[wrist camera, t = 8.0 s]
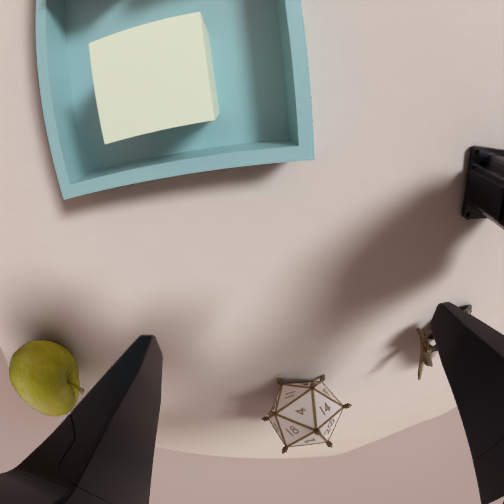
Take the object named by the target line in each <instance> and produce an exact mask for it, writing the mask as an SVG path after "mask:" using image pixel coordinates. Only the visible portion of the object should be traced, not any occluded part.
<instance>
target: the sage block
mask: <svg viewBox="0 0 504 504" xmlns="http://www.w3.org/2000/svg"><path fill="white" fill-rule="evenodd" d="M89 51H90V61H91V69H92V76H93V83H94V90H95V96H96V102H97V108H98V113H99V119H100V124H101V129H102V134H103V138H104V143H105V144H108V143H112V142H115V141H119V140H123V139H126V138H130V137H134V136H138V135H142V134H146V133H151V132H155V131H160V130H164V129H169V128H174V127H179V126H184V125H189V124H195V123H201V122H207V121H213V120H215V119H216V118H217V116H218V115H219V106H218V99H217V92H216V84H215V77H214V69H213V62H212V54H211V47H210V39H209V33H208V31H207V28H206V26H205V23H204V20H203V18H202V15H201V13H200V12H195V13H190V14H184V15H180V16H175V17H170V18H166V19H162V20H158V21H154V22H150V23H147V24H143V25H140V26H136V27H133V28H130V29H127V30H124V31H121V32H118V33H115V34H112V35H109V36H106V37H104V38H101V39H98V40H96V41H93V42H91V43H89Z"/></svg>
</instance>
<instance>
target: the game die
mask: <svg viewBox="0 0 504 504" xmlns="http://www.w3.org/2000/svg"><path fill="white" fill-rule="evenodd" d="M324 379H325V376H324V375H323V376H321V378H320V381H314V382H301V383H285V384H284V383H283V381H282V379H279V378H277V380H278V383H279V384H280V385H281V387H280V389H279V392H278V395H277V397H276V400H275V402H274V405H273V407H272V410H271V411H270V412H269V413H268V414H269V417H267V416H266V417H265V416H264V417H263V418H262V420H264V421H267V420H269V421H270V422H271V424H272V426H273V427H274V429H275V430H276V432H277V434H278V435H279V437H280V438H281V440H282V442H283V443H284V445H285V447H284V448H283V449H282V454H283V453H285V452H287V450H288V447H294V446H303V445H312V444H319V443H327V445H328V447H332V443H331V442H330V441H329V439H330V437H331V434H332V432H333V430H334V428H335V426H336V424H337V422H338V419H339V417H340V415H341V413H342V410H343V408H349V407H350V406H351V404H348V403H347V404H345V405H342V404H341V403H340V401H339V400H338V399H337V398H336V397H335V396H334V395H333V394H332V392H331V391H330V390H329V389H328V388H327V387H326V386H325V385H324V383H323V381H324Z"/></svg>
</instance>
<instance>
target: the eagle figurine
mask: <svg viewBox="0 0 504 504" xmlns="http://www.w3.org/2000/svg"><path fill="white" fill-rule="evenodd" d="M471 309H472V305H468V307H467V308H465V310H464V311H465V312H467V313H469V314H470V313H471V312H472V310H471ZM470 315H471V314H470ZM417 331H418V333H419V335H420V341H421V356H420V362H419V369H418V380H420V379H421V374H422V370H423V366H424V363H425V365H427V366H431V367H432V366H433V365H432V360H431V356H430V353H432V352H434V351H438V349H437V345H434V346H432V345H430V344H429V343H428V341H427V340H428V339H433V340H435V339H434V336H433V333H430V334H428V335H426V334H425V332H424V331H423V330H422V329H420V328H417Z"/></svg>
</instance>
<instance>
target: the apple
mask: <svg viewBox="0 0 504 504" xmlns="http://www.w3.org/2000/svg"><path fill="white" fill-rule="evenodd" d="M9 374H10V380H11V383H12V385H13V387H14V388H15V390H16V391H17V393H18V394H19V395H20V397H21V398H22V399H23V400H24V401H25V402H26V403H27V404H28V405H29V406H30V407H32V408H33V409H34V410H36V411H38V412H40V413H42V414H45V415H49V416H61V415H64V414H66V413H68V412H69V411H70V410H72V409H73V407H74V406H75V404H76V402H77V398H78V394H79V391H80V392H81V394H83V392H84V389H82V388H80V387H79V377H78V366H77V363H76V361H75V359H74V357H73V356H72V354H71V353H70V352H69V351H68V350H67V349H66V348H64V347H63V346H61V345H59V344H57V343H54V342H51V341H47V340H36V341H31V342H29V343H27V344H25V345H23V346H22V347H21V348H19V349H18V350H17V351H16V352H15V353H14V354H13V356H12V358H11V362H10V367H9Z"/></svg>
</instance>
